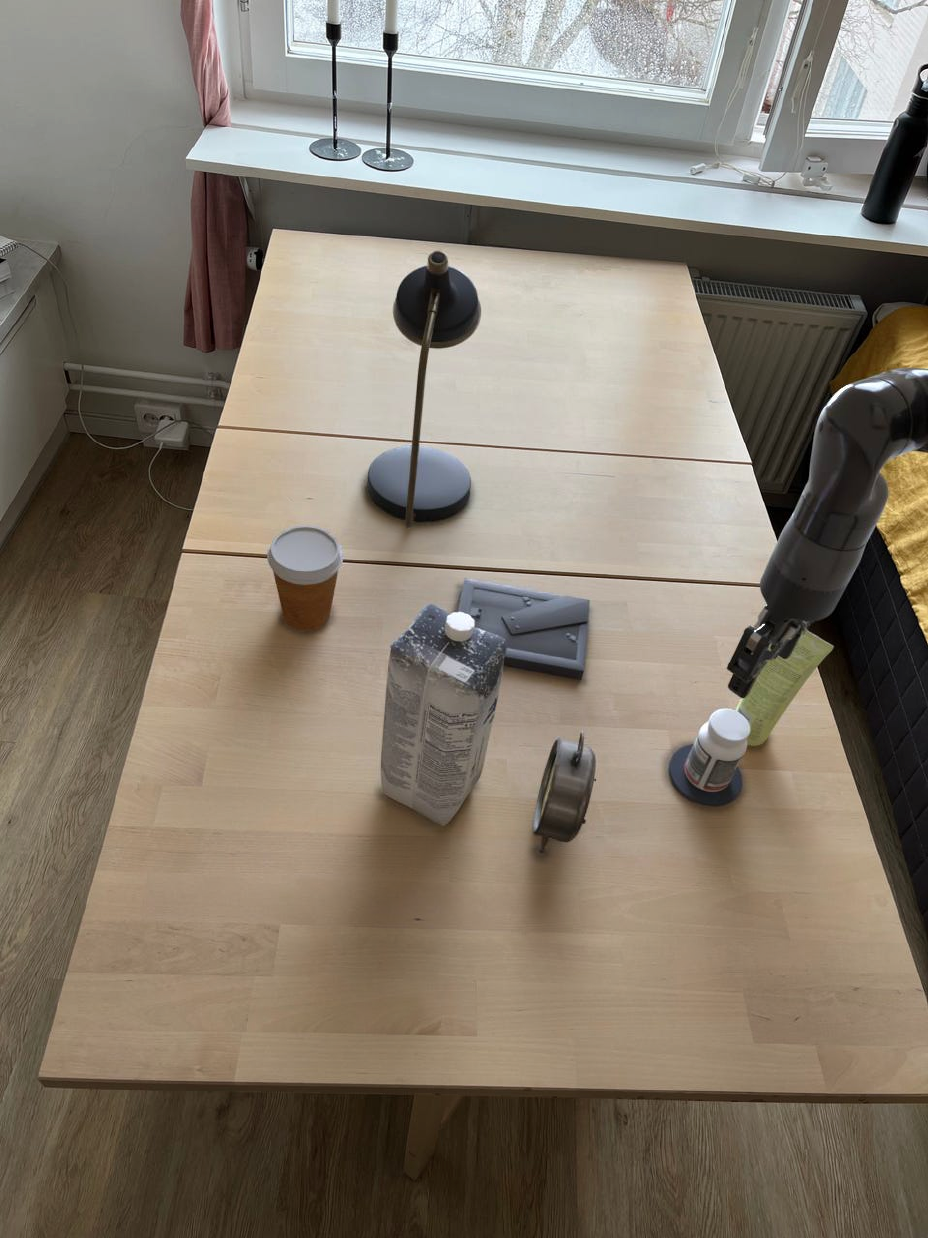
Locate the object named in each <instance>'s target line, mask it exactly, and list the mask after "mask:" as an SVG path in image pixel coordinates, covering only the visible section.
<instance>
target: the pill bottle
mask: <svg viewBox="0 0 928 1238" xmlns="http://www.w3.org/2000/svg"><path fill="white" fill-rule="evenodd" d="M749 733H750V725H749V722H748V721H747V719H746V718H745V717H744V716H743V715H742V714H740V713H739V712H737V711H736V709H735V710H734V709H731V708H720V709H716V710H715V711H714V712H712V714H711V715H710V717H709V719H708V721H706V722H705V723H704V724H703V725H702V726H701V727H700V729H699V731H698V734H697V736H696V738H695V740H694V743H693V744H694V745H693V747H692V749H691V751H690V753H689V756H688V758H687V760H686V763H685V773H686V776H687V778H688V779H689V781H690V782H691V783H692V784H693V785H694V786H696V787H697V788H699V789H701V790H704V791H708V792H717V791H721V790H723V789H724V788H726V787H727V786H728V784H729V783H730V781H731V779H732V777H733V775H734V773H735V771H736V769H737V767H738V768H739V765H740V764H741V762H742V759H743V758H744V756H745V754H746V751H747V748H748V745H747V738H748V736H749Z"/></svg>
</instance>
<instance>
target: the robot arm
mask: <svg viewBox="0 0 928 1238" xmlns="http://www.w3.org/2000/svg"><path fill="white" fill-rule="evenodd" d="M911 452H920V453H926V454H928V368H922V367H898V368H894V369H890V370H888V371H887V370H886V371H884V372H881V373H878V374H875V375H871V376H870V377H866V378H864V379H860V380H857V381H854V382H851V383H849V384H847V385H845V386H843V387H841V388H840V389H838V390H837V392H835V393H834V394H833V395H832V397H830V399H829V400H828V401H827V403H826V404H825V406H824V407H823V409H822V410H821V412H820V414H819V416H818V419H817V423H816V425H815V429H814V435H813V441H812V449H811V456H810V463H809V476H808V480H807V483H806V484H805V486H804V488H803V490H802V493H801V495H800V497H799V499H798V502H797V504H796V506H795V508H794V511H793V512H792V515H791V516H790V518H788V521H787V522H786V524H785V525H784V527H783V529H782V531H781V533H780V534H779V537H778V540H777V542H776V543H775V546H774V548H773V551H772V553H771V556H770V558H769V560H768V562H767V564H766V567H765V569H764V571H763V574H762V575H761V578H760V581H759V591H760V593H761V596H762V598H763V599H764V602H765V603H766V605H765V606H764V607H762V610H761V611H760V612H759V614H758V616H757V621H756V623H755V624H754V625H753V626H752V625H748V626H747V627H746V628H744V630H743V633H742V635H741V638H740V640H739V641H738V644H737V645H736V648H735V649H734V652H733V654H732V656H731V658H730V660H729V662H728V664H727V666H726V670H727V671H729V673H731V674H732V675H731V677H730V679H729V681H728V683H727V688H728V690H729V691H731V693H733V694H735V695H736V696H737V697H739V698H740V699H741V698H745V697H746V696H747V695H748V694H749V693H750V691H751V689H752V687H753V685H754V683H755V681H756V679H757V677H758V676H759V675H760V673H761V670H762V669H763V668H764V666H765V665H766V663H767V662H768V661H769V660H771V661H773V660H775V659H776V658H777V656H780V657H781V658H783V659H787V658H788V657H789V656H790V655H791V654H792V652H793V650H794V648H795V646H796V644H797V642H798V640H799V638H800V636H801V634H804V632H806V631H809V628H810V626H811V625H812V624H813V623H815V622H816V621H817V622H818V621H821V620H823V619H825V618H828V617H829V616H831V614H832V613H833V612H834V611H835V609H836V607H837V605H838V604H839V602H840V600H841V598H842V596H843V594H844V592H845V590H846V589H847V587H848V584H849V583H850V581H851V580H852V577H853V575H854V573H855V571H856V569H857V568H858V566H859V564H860V562H861V560H862V557H863V554H864V552H865V549H866V545H867V543H868V542H869V539H870V538H871V536H872V535H873V532H874V530H875V528H876V527H877V525H878V523H879V521H880V519H881V517H882V515H883V513H884V510H885V508H886V506H887V504H888V500H889V494H890V490H889V485H888V482H887V480H886V478H885V477H884V475H882V473H881V471H882V469H883V468H884V466H885V465H886V464H887V462H888V461H890V460H892V459H895V458H897V457H900V456H903V455H905V454H908V453H911ZM799 633H800V634H799ZM770 643H771V644H772V645H771V647H770V649H771V651H769V650H768V648H769V645H770Z"/></svg>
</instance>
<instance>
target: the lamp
mask: <svg viewBox="0 0 928 1238" xmlns="http://www.w3.org/2000/svg"><path fill="white" fill-rule="evenodd" d="M392 317H393V321H394V323H395V326H396V327H397V329H398V331H399V332H400V333H401V334H402V335H403V337H404V338H405V339H407V340H409V341H410V342H412V343H413V344H416V345H417V346H420V353H419V360H418V368H417V377H416V378H417V379H416V391H415V400H414V401H415V402H414V411H413V412H414V413H413V426H412V437H411V445H403V446H397V447H395V448H390V449H389V450H386V451H384V452H382V453H381V454H379V455H378V456H376V457H375V458H374V460H372V462H371V463H370V465H369V468H368V472H367V481H366V491H367V495H368V497H369V498H370V500H371V501H372V503H373V504H374V505H375V506H376V507H377V508H378V509H379V510H380V511H382V512H383V513H386V514H387V515H390V517H391V516H392V517H394V518H397V519H398V520H399V519H400V520H403V521H404V522H405V523H404V525H405V528H406V529H412V528H413V526H414V523H434V522H440V521H444V520H447V519H449V518H452V517H454V516H455V515H458V513H460V512H461V511H462V510H463V509H464V508H465V507H466V506H467V504H468V503H469V501H470V497H471V487H472V485H471V484H472V479H471V478H472V477H471V474H470V471H469V469H468V468H467V466H466V465H465V464H464V463H463V462H462V461H461V460H460V459H459V458H457V457H456V456H454V455H452V454H451V453H448V452H447V451H445V450H442V449H439V448H436V447H431V446H426V445H420V443H421V430H422V420H423V409H424V398H425V387H426V378H427V377H426V376H427V368H428V359H429V353H430V349H436V350H438V349H439V350H440V349H441V350H443V349H448V348H453V347H455V346H457V345H460V344H462V343H464V342H465V341H467V340H468V339H469V338H471V336H472V335H474V333H475V331H476V330H477V329H478V327H479V326H480V323H481V319H482V307H481V302H480V299H479V295H478V291H477V288H476V286H475V284H474V282H473V281H472V279H471V278H470V277H469V276H468V275H467V274H466V273H464V272H463V271H462V270H459V269H458V268H456V267H453V266H451V265H449V259H448V256H447V253H445V252H444V251H443V250H442V251H441V250H433V251H432V252H430V253H428V256H427V261H426V265H423V266H420V267H417V268H415V269H414V270H411V272H409V273H408V274H407V275H406V276H405V277H404V278H403V279H402V281H401V282H400V284H399V285H398V288H397V291H396V294H395V298H394V302H393V306H392Z"/></svg>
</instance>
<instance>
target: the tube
mask: <svg viewBox="0 0 928 1238" xmlns="http://www.w3.org/2000/svg"><path fill="white" fill-rule="evenodd" d="M799 634H800V633H799ZM771 645H772V644H771V643H770V645H769V648H768V650H769V651H771V649H770V647H771ZM834 647H835V646H834V645H833V644H831V643H829V642H827V641H825V640H824V639H822V638H820V636H818V635H816V634H814V633H813V632H810V631H809V630H807V631H806V632H804V634H801V636H800V638H799V640H798V642H797V644H796V646H795V648H794V650H793V652H792V654H791V655H790V656H789V657H788V658H787V659H783V658H781V657H780V656H777V658H776V659H775V660H773V661H771V660H769V661H768V662H767V663H766V665H765V666H764V668H763V669H762V670H761V673H760V675H759V676H758V677H757V679H756V681H755V683H754V685H753V687H752V689H751V691H750V693H749V694H748V695H747V696H746V697H745V698H740V700H739V702H738V705H737V706H736V709H735V711H737V712H739V713H740V714H742V715H743V716H744V717H745V718H746V719H747V721H748V722H749V725H750V733H749V736H748V738H747V746H751V747H757V746H761V745H763V744H764V743H765V742H766V740H767V739H768V738H769V737H770V734H771V733H772V731H773V730H774V728H775V727H776V725H777V724H778V722H779V721H780V719H781V718H782V716H783V715H784V713H785V712H786V711H787V708H788V707H789V706H790V705H791V703H792V701H793V700H794V698H795V697H796V695H797V694H798V693H799V691H800V690H801V689H802V687H803V686H804V684H805V683H806V682H807V681H808V679H809V678H810V677H811V675H812V674H813V673H814V672H815V670H816V669H817V668H818V666H819V665H820V664H821V663H822V661H824V659H825V658H826V657H827V656H828V655H829V654H831V652H832V651H833V649H834Z"/></svg>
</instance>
